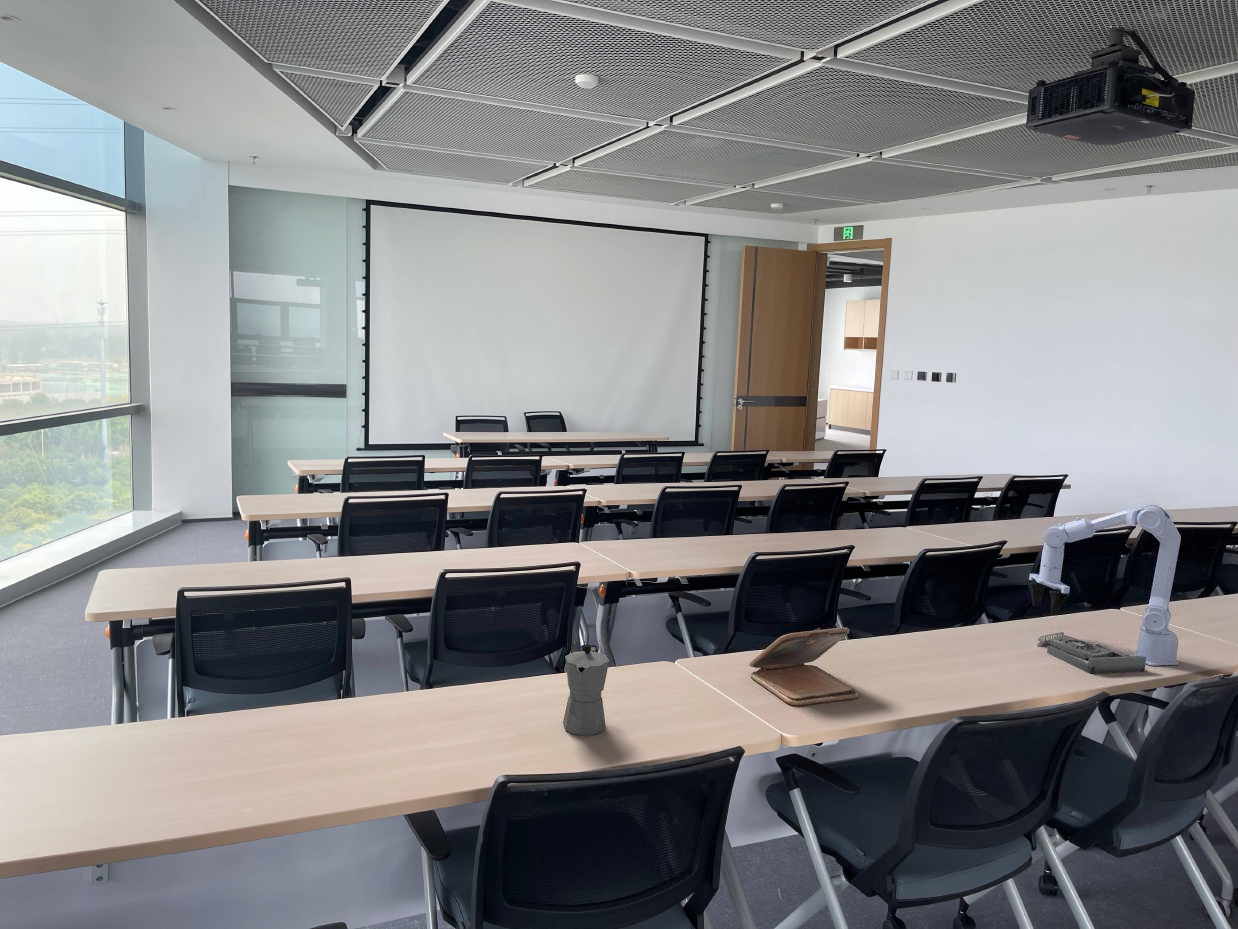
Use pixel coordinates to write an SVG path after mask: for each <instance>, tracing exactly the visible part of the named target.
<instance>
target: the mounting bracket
mask: <svg viewBox="0 0 1238 929" xmlns="http://www.w3.org/2000/svg"><path fill="white" fill-rule="evenodd" d="M1095 646H1098V647H1101V648H1104V649H1107V650H1110V651H1112V656H1108V657H1099V658H1089V659H1087V660H1088V661H1085V660H1083V659H1081V658H1079V657H1077V656H1074V655H1071V654H1069V653H1066V652H1063V651H1061V650H1059V648H1055V647H1053V646H1051V645H1050V646H1047V651H1046V652H1047V654H1049V655H1051V656H1053V657H1055V658H1057V659H1059V660H1062V661H1063V662H1065V663H1068V664H1070V665H1072V666H1074V667H1075V668H1078V669H1079V670H1081V671H1083V672H1086V673H1088V674H1091V675H1092V674H1093V675H1095V674H1096V675H1097V674H1098V675H1099V674H1115V673H1117V674H1118V673H1119V674H1120V673H1136V672H1137V673H1139V672H1140V673H1141V672H1142V673H1143V672H1145V670H1146V665H1147V664H1146V657H1144V656H1129V655H1128V656H1127V655H1125V654H1123V653H1120V652H1119V651H1116V650H1113V649H1111V648H1109V647H1106V646H1104V645H1102V644H1100V643H1096V644H1095Z"/></svg>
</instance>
